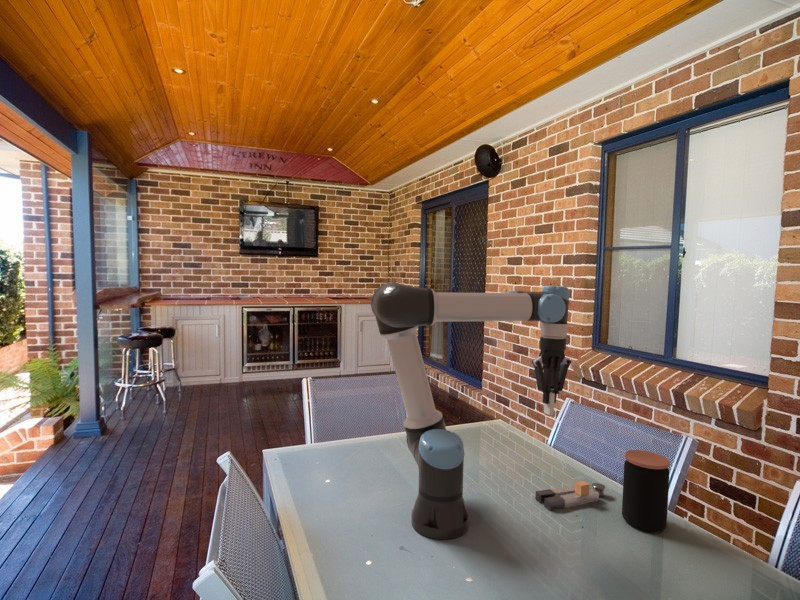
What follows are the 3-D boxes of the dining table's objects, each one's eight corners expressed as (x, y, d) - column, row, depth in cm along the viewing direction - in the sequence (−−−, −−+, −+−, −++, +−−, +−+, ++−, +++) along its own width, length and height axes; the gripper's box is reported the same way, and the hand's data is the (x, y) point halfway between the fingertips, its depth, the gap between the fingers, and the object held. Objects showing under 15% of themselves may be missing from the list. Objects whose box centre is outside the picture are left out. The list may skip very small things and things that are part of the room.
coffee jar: (655, 513, 126) (658, 450, 125) (674, 535, 116) (678, 467, 114) (615, 511, 127) (618, 448, 126) (631, 532, 117) (634, 464, 116)
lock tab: (583, 490, 134) (583, 480, 133) (589, 494, 131) (589, 484, 131) (574, 492, 133) (575, 482, 132) (580, 496, 130) (581, 485, 130)
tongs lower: (598, 491, 139) (598, 482, 138) (609, 498, 134) (610, 488, 134) (539, 503, 131) (540, 493, 131) (550, 511, 127) (550, 501, 126)
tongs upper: (585, 491, 138) (585, 484, 138) (590, 495, 136) (591, 487, 136) (535, 499, 133) (535, 491, 133) (540, 503, 131) (540, 495, 131)
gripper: (562, 335, 142) (558, 409, 143) (527, 335, 137) (523, 411, 139) (579, 338, 135) (574, 416, 136) (543, 338, 130) (538, 419, 132)
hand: (548, 413), depth 137 cm, fingers closed
